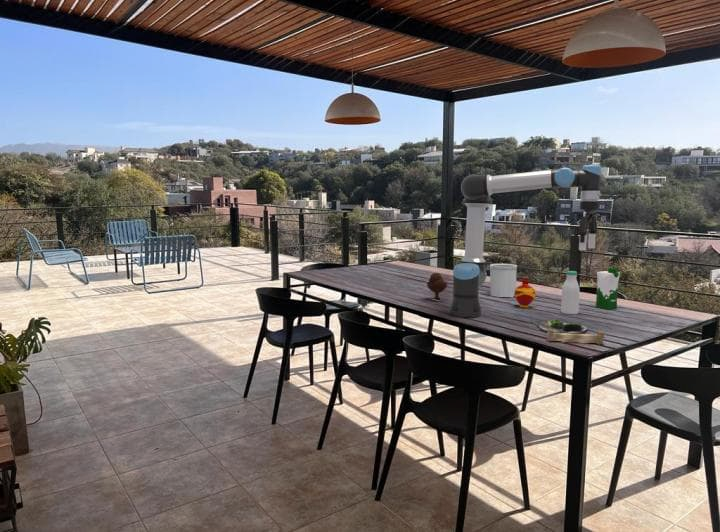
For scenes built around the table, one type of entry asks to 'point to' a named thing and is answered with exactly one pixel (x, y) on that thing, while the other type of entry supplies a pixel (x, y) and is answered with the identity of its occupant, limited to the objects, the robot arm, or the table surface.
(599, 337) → the stop rail
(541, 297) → the table surface
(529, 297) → the potion bottle
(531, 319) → the table surface
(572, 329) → the salad plate
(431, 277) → the ice cream bowl
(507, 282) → the utensil holder
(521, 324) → the table surface
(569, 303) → the milk bottle
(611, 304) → the milk carton
